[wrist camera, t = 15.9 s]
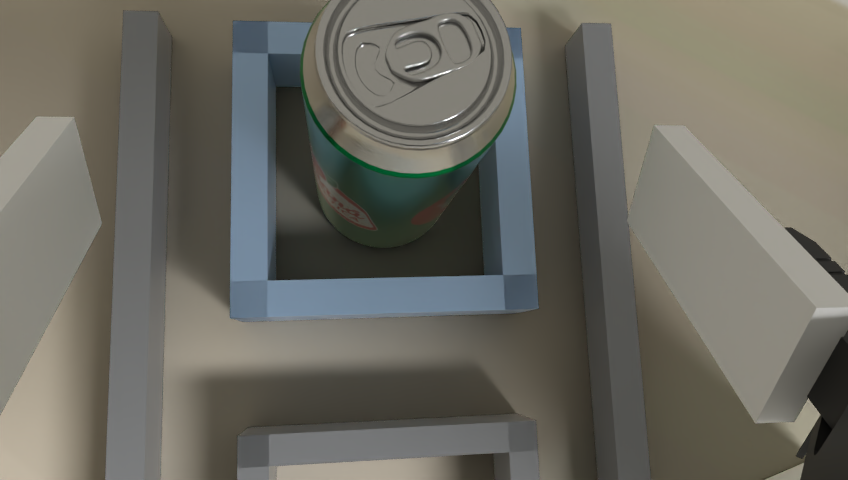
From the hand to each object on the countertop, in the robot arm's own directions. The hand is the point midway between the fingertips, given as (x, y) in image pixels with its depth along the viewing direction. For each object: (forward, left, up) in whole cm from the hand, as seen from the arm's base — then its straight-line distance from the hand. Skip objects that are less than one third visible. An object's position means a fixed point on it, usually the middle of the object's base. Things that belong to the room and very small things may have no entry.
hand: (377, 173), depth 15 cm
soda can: (-1, -2, -10) cm, 11 cm away
